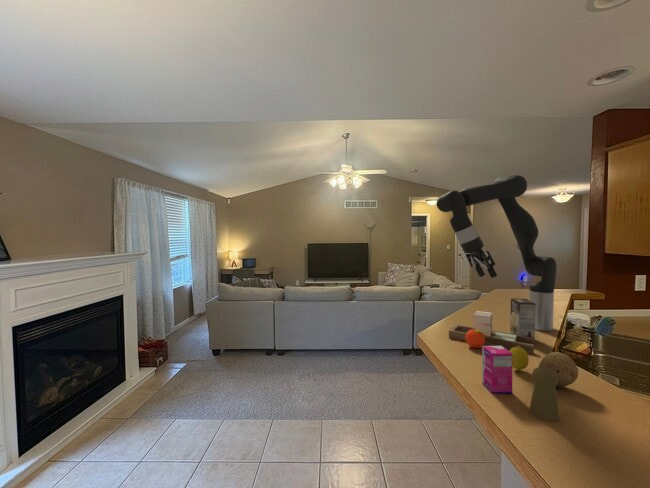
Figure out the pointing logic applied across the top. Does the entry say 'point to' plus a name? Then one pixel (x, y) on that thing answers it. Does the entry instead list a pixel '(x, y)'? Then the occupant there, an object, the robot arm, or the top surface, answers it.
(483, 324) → the cream block
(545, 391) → the olive tapered cylinder
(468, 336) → the clementine
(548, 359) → the natural sponge
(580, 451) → the top surface
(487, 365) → the supplement box
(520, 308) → the coffee box
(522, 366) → the lemon
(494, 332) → the walnut lane
